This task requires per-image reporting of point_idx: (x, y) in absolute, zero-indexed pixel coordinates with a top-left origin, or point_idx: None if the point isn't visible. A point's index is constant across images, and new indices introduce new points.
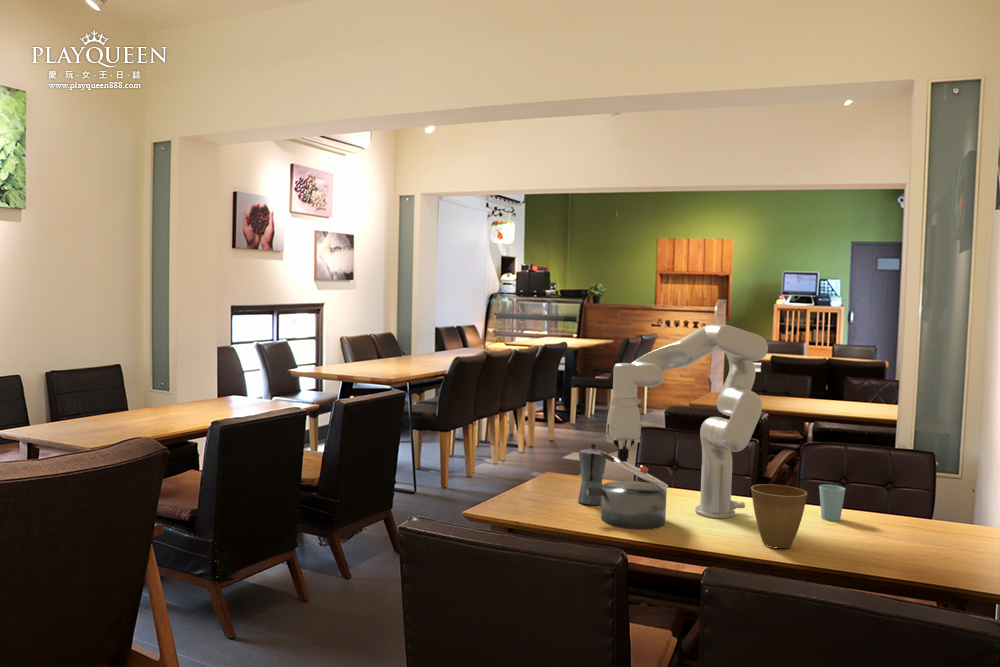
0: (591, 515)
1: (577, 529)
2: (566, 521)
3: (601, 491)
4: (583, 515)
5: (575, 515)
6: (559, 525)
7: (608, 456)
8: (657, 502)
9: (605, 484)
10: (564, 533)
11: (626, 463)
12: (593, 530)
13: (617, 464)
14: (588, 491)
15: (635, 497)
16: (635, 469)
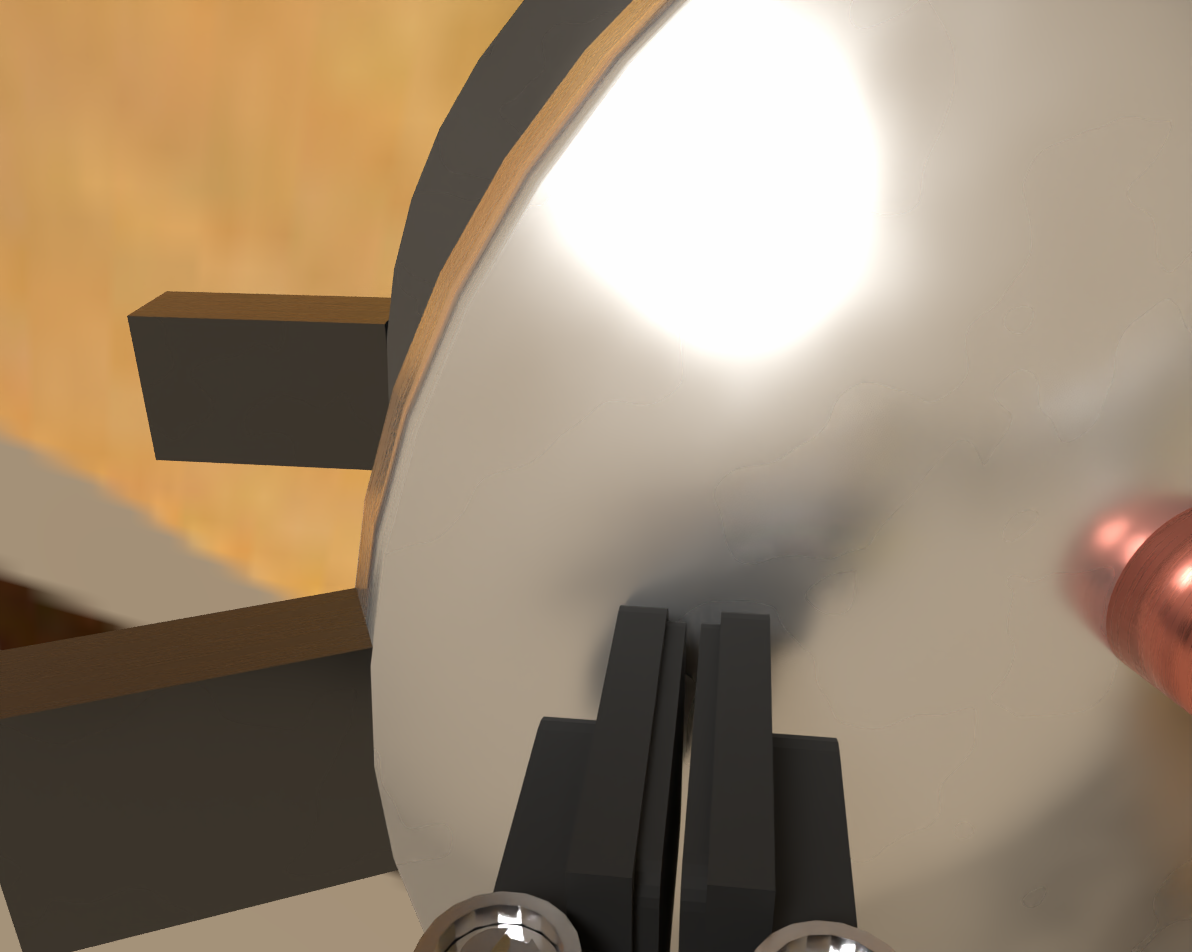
0: (411, 39)
1: (194, 526)
2: (96, 268)
3: (357, 462)
4: (309, 34)
5: (210, 29)
6: (26, 395)
7: (206, 899)
8: None
9: (494, 113)
10: (74, 613)
11: (896, 450)
12: (340, 567)
13: None
14: (161, 440)
15: None
16: (872, 926)
